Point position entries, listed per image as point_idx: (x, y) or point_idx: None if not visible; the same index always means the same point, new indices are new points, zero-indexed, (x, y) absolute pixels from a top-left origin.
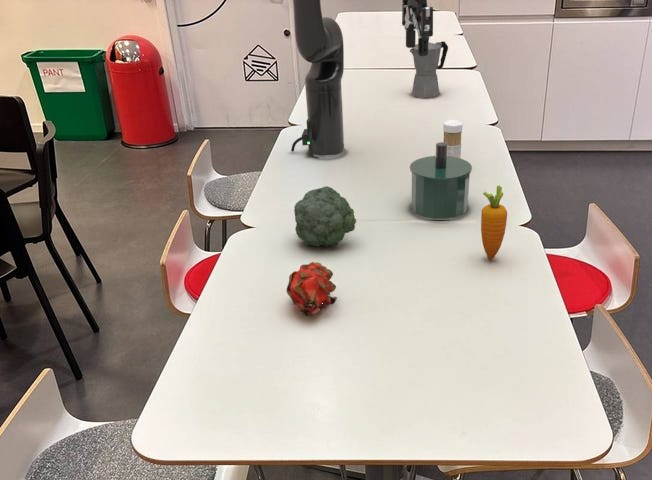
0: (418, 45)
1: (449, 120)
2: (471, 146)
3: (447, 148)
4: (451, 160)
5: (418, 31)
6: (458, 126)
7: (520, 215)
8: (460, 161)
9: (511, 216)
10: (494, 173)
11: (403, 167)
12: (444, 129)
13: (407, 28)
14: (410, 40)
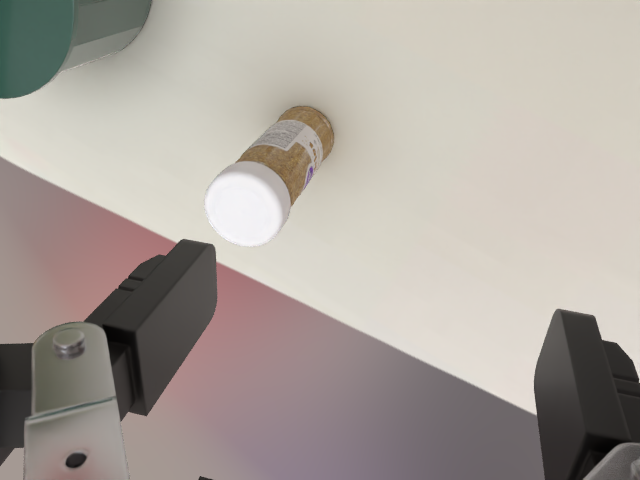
0: (157, 284)
1: (272, 214)
2: (517, 327)
3: (253, 144)
4: (19, 49)
5: (66, 379)
6: (206, 211)
7: (8, 157)
8: (6, 75)
9: (4, 134)
10: (277, 257)
11: (462, 17)
12: (244, 164)
13: (595, 471)
14: (556, 385)
